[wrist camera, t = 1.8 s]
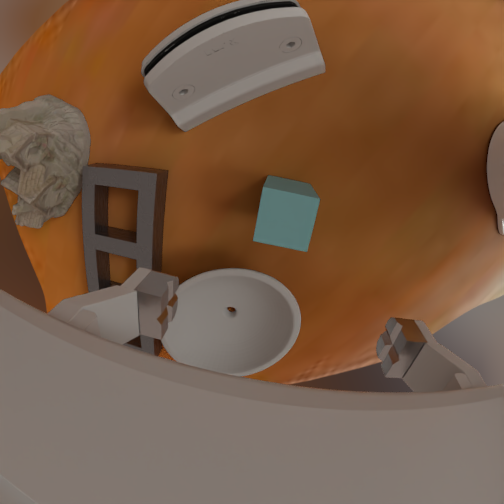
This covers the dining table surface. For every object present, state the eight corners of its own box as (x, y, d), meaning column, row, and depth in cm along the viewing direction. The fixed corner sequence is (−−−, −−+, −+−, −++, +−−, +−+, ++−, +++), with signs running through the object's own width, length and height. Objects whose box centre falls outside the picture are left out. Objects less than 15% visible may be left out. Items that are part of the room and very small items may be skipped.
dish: (250, 221, 30) (244, 236, 25) (322, 312, 33) (327, 337, 29) (149, 299, 35) (133, 320, 31) (219, 367, 39) (212, 391, 34)
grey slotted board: (168, 170, 29) (157, 173, 26) (162, 348, 39) (155, 361, 36) (97, 162, 29) (82, 166, 26) (106, 330, 39) (97, 341, 36)
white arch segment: (182, 133, 27) (125, 97, 17) (171, 101, 27) (118, 61, 17) (328, 71, 23) (327, 6, 13) (308, 41, 23) (298, -22, 13)
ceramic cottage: (45, 81, 25) (-38, 89, 11) (112, 134, 28) (16, 157, 15) (14, 167, 31) (-54, 198, 18) (70, 225, 34) (0, 276, 21)
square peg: (310, 183, 28) (320, 198, 20) (300, 223, 29) (306, 252, 22) (268, 174, 28) (263, 186, 21) (260, 215, 30) (252, 241, 22)
